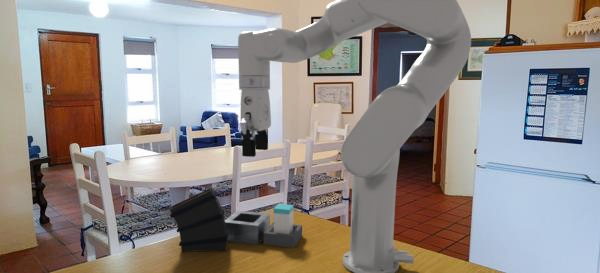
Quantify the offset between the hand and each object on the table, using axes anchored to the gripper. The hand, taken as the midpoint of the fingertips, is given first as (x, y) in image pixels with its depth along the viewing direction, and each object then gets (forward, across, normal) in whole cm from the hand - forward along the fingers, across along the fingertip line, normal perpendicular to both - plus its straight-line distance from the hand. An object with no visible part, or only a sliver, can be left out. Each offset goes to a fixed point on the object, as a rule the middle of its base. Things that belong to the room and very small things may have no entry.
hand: (255, 152), depth 103 cm
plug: (+23, +2, -6) cm, 24 cm away
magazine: (+23, -8, +12) cm, 27 cm away
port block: (+23, +3, +4) cm, 23 cm away
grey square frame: (+23, +2, -6) cm, 24 cm away
